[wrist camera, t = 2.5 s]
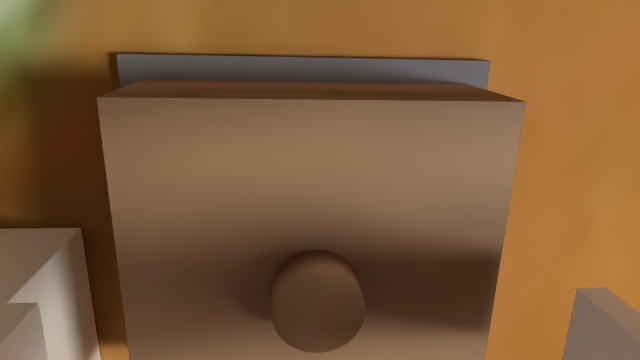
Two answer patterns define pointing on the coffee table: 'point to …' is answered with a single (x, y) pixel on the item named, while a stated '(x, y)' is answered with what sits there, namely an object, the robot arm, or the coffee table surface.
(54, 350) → the dish
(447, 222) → the lid
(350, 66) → the mat
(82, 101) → the coffee table surface
